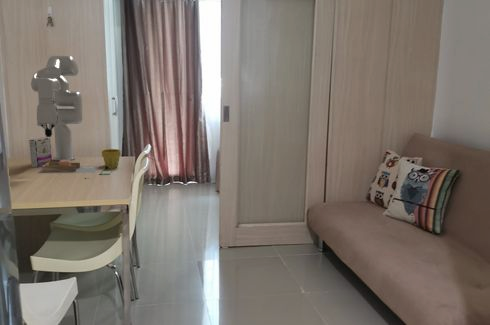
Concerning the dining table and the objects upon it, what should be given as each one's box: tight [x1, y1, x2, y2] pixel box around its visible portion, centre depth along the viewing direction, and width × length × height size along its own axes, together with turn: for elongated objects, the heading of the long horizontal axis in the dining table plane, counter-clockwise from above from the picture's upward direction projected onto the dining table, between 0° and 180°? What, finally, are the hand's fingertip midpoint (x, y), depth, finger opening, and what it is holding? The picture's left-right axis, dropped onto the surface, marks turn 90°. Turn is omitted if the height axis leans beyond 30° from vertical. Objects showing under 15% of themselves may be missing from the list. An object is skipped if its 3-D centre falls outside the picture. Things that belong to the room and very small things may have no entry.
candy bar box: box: [28, 137, 53, 168], centre depth 248 cm, size 11×5×16 cm, turn 161°
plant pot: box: [101, 148, 122, 169], centre depth 253 cm, size 10×10×10 cm
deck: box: [37, 165, 101, 174], centre depth 240 cm, size 18×29×1 cm, turn 98°
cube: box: [58, 160, 72, 166], centre depth 238 cm, size 5×5×5 cm
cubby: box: [41, 162, 81, 172], centre depth 238 cm, size 10×17×3 cm, turn 98°
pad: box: [98, 170, 112, 176], centre depth 237 cm, size 7×7×1 cm
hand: (48, 136), depth 234 cm, fingers closed
